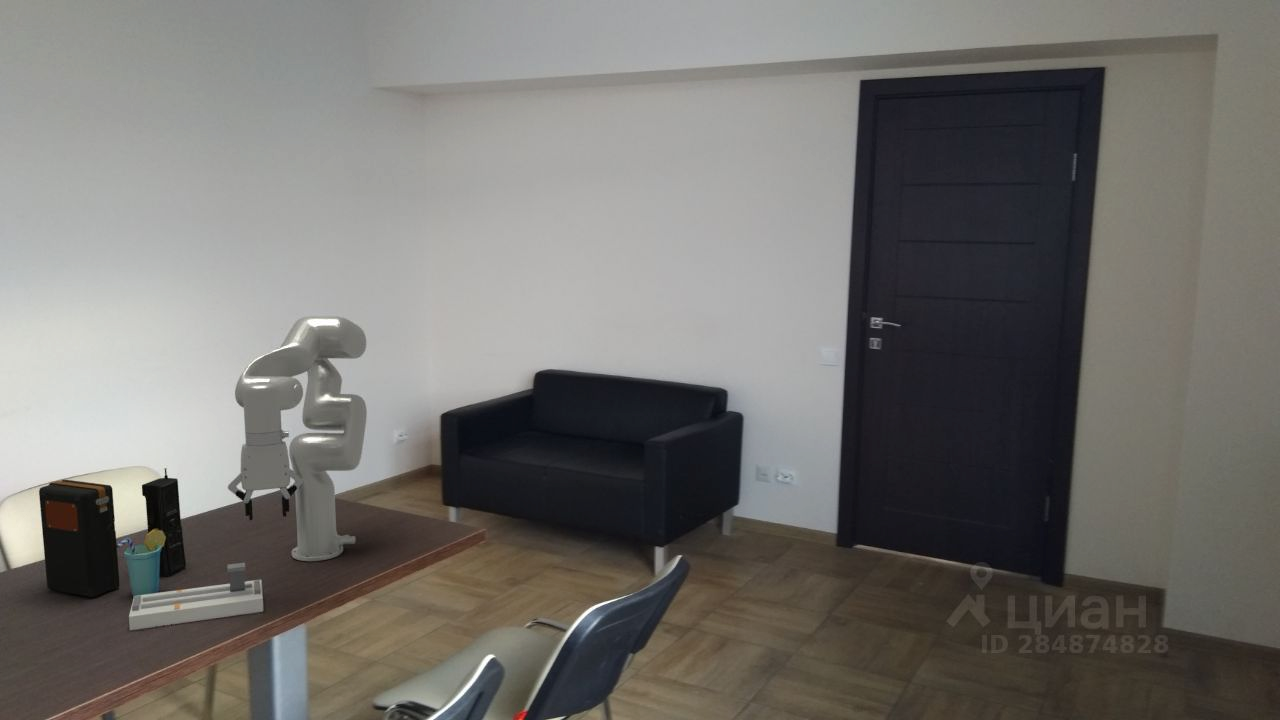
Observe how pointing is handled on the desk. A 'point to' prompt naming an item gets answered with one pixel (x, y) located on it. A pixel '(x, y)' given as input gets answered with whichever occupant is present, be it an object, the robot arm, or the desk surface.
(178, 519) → the portable radio
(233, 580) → the fader tab
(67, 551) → the black speaker
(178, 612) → the slider track base
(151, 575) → the cup
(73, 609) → the desk surface
